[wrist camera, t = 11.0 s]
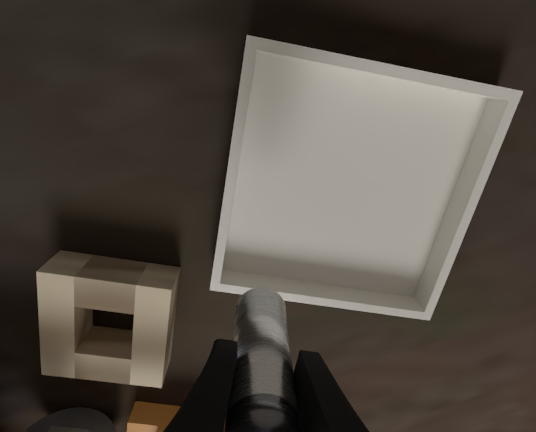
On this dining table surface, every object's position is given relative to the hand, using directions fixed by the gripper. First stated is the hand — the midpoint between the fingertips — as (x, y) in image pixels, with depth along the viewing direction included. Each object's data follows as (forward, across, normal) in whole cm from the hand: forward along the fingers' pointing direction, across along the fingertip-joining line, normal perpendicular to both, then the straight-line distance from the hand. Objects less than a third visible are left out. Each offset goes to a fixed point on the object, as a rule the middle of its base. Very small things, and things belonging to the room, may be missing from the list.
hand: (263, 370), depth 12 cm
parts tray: (+10, -4, -4) cm, 12 cm away
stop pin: (+3, 0, 0) cm, 4 cm away
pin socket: (+10, +8, +6) cm, 15 cm away
